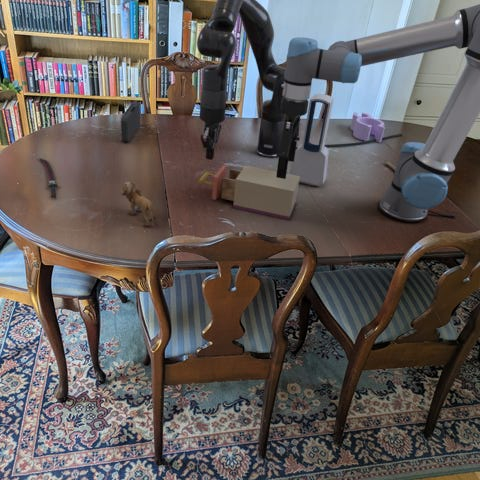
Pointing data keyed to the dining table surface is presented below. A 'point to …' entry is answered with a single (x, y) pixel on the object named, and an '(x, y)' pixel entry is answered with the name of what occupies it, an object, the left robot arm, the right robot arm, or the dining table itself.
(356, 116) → the clip
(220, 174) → the drawer
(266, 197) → the cream rectangular box
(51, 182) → the sword
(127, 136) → the handheld gaming console
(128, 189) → the lion figurine
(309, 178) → the electronic device
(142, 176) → the dining table surface
